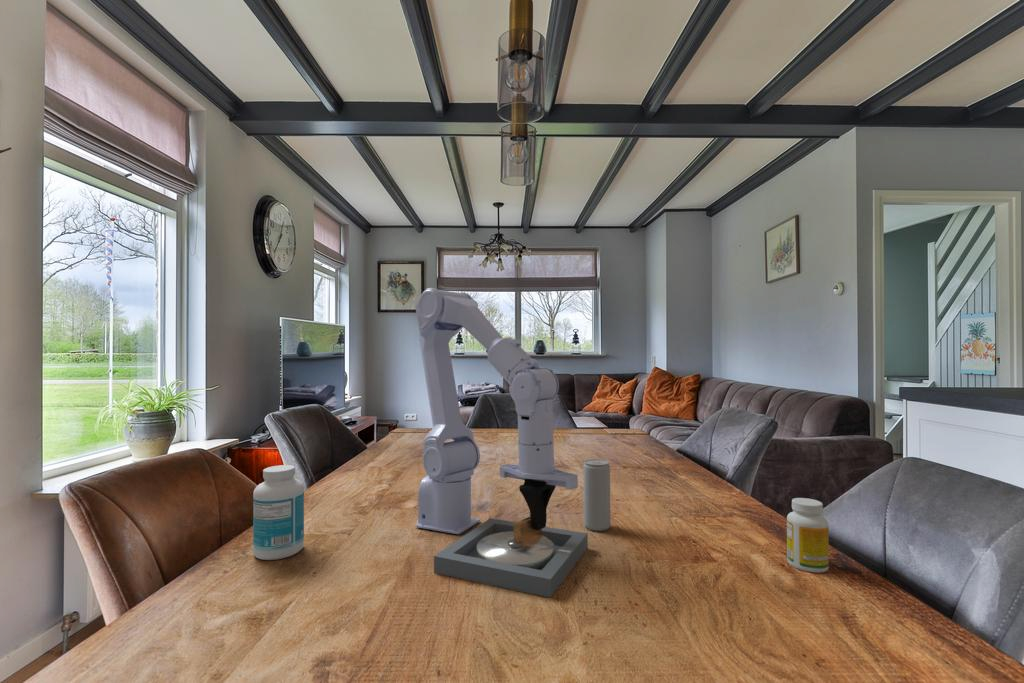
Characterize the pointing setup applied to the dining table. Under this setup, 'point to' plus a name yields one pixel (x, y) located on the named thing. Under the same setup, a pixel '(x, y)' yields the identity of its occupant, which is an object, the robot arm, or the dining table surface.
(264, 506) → the pill bottle
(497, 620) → the dining table surface
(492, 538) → the dial
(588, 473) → the beverage can
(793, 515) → the supplement bottle
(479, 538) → the slate tray
